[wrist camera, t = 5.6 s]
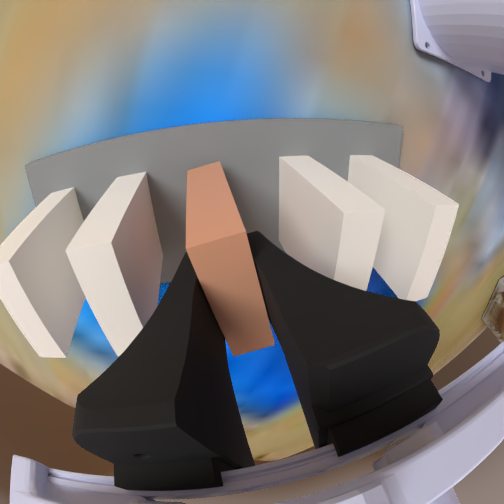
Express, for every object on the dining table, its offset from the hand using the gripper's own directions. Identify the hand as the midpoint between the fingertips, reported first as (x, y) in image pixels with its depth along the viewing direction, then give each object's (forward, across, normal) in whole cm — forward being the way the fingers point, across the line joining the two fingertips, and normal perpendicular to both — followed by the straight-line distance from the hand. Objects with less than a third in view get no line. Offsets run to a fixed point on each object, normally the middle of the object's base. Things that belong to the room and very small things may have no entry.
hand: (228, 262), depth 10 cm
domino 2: (+5, +4, -1) cm, 7 cm away
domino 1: (+5, +8, -2) cm, 10 cm away
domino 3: (+5, 0, 0) cm, 5 cm away
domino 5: (+5, -8, +2) cm, 10 cm away
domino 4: (+5, -4, +1) cm, 7 cm away
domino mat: (+6, 0, 0) cm, 6 cm away
